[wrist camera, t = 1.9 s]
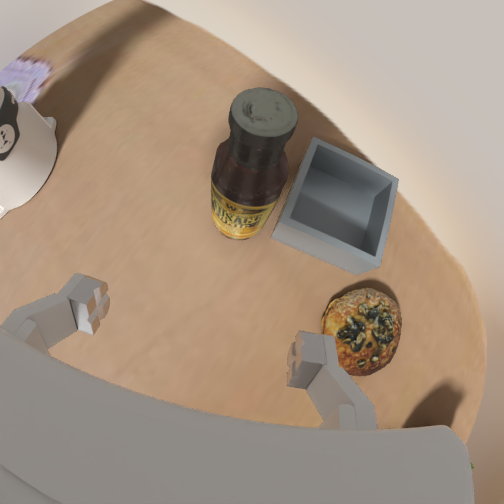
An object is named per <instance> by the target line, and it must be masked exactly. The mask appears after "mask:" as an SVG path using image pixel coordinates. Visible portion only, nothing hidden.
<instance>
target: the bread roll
mask: <svg viewBox="0 0 504 504" xmlns="http://www.w3.org/2000/svg"><path fill="white" fill-rule="evenodd" d="M321 324H322V334H324V335H330V336H334V338H335V343H336V349H337V356H338V362H339V367H343V369H344V370H345V371H346V372H347V373H348V374H349V375H353V376H367V375H371V374H373V373H375V372H377V371H378V370H380V369H382V368H383V367H385V366H386V365H387V364H388V363H390V361H391V360H392V358H393V356H394V354H395V353H396V349H397V347H398V343H399V340H400V335H401V326H402V318H401V313H400V310H399V307H398V305H397V303H396V302H395V301H393V300H392V299H391V298H389V297H388V296H387V295H385V294H384V293H382V292H379V291H378V290H374V289H372V288H362V289H359V290H353V291H352V292H348V293H347V294H345V295H343V296H342V297H341V298H338V299H334V300H333V301H332V302H331V303H330V304H329V306H328V309H327V310H326V314H325V315H324V316H323V318H322V321H321Z"/></svg>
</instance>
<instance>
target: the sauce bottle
mask: <svg viewBox="0 0 504 504" xmlns="http://www.w3.org/2000/svg"><path fill="white" fill-rule="evenodd" d="M297 121H298V112H297V110H296V107H295V105H294V104H293V102H292V101H291V100H290V99H289V98H288V97H287V96H285V95H284V94H282V93H280V92H278V91H275V90H272V89H270V88H254V89H248V90H245V91H243V92H241V93H240V94H238V95H237V97H236V98H235V99H234V100H233V103H232V104H231V108H230V112H229V125H230V129H231V132H230V137H229V139H227V140H226V141H224V142H223V143H221V144H220V145H219V146H218V148H217V152H216V156H215V161H214V165H213V169H212V173H211V201H212V219H213V221H214V224H215V226H216V227H217V229H218V230H219V231H220V232H221V234H223V235H224V236H226V237H227V238H230V239H235V240H246V239H248V238H250V237H252V236H254V235H256V234H257V233H258V232H259V231H260V230H261V229H262V227H263V226H264V224H265V222H266V220H267V218H268V217H269V215H270V213H271V211H272V209H273V207H274V205H275V204H276V202H277V200H278V198H279V196H280V194H281V191H282V188H283V186H284V184H285V182H286V181H287V175H288V162H287V157H286V154H285V152H284V150H283V149H284V146H285V143H286V142H287V141H288V140H289V139H290V138H291V136H292V135H293V132H294V130H295V127H296V124H297Z"/></svg>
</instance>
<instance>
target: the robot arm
mask: <svg viewBox="0 0 504 504" xmlns="http://www.w3.org/2000/svg"><path fill="white" fill-rule="evenodd" d="M55 129H56V120H55V119H54V118H53V117H42V116H41V115H40V114H39V113H38V112H37V111H36V109H35V108H34V107H33V106H32V105H31V104H30V103H29V102H27V101H26V102H19V103H17V101H16V100H15V98H14V96H13V95H12V93H11V92H10V91H8V90H7V89H6V88H5V87H3V86H0V219H1V218H2V217H3V216H4V215H5V214H6V213H7V212H8V211H9V210H11V209H14V208H16V207H19V206H21V205H23V204H24V203H26V202H27V201H28V200H30V199H31V198H32V197H33V196H34V195H35V194H36V193H37V192H38V191H39V189H40V188H41V187H42V185H43V184H44V183H45V181H46V179H47V178H48V176H49V174H50V172H51V170H52V168H53V165H54V162H55V159H56V154H57V141H56V138H55ZM107 291H108V285H107V283H106V282H104V281H101V280H98V279H95V278H92V277H90V276H86V275H83V274H81V273H76V274H74V275H73V277H72V278H71V279H70V280H69V281H68V282H67V283H66V285H65V286H64V287H63V288H62V289H61V290H60V292H59V293H58V294H55V293H54V294H52V295H49V296H47V297H44V298H42V299H39V300H37V301H34V302H32V303H30V304H27V305H25V306H22V307H20V308H17V309H15V310H14V311H13V312H12V313H11V314H10V315H9V317H8V318H7V319H6V320H5V322H4V323H3V324H2V325H1V327H0V504H474V487H473V478H472V470H471V464H470V459H469V454H468V450H467V447H466V445H465V444H464V442H463V441H462V440H461V439H460V438H459V437H458V436H457V435H456V434H455V432H454V431H453V430H451V429H450V428H449V427H448V426H446V425H436V426H426V427H416V428H402V429H378V427H377V421H376V414H375V408H374V405H373V403H372V402H371V401H370V400H369V399H368V397H367V396H366V395H365V394H364V393H363V391H362V390H361V389H360V388H359V387H358V385H357V384H356V383H355V382H354V381H353V379H352V378H351V377H350V376H349V375H348V373H347V372H346V371H345V370H344V369H343V367H339V362H338V356H337V349H336V343H335V338H334V336H330V335H324V334H317V333H311V332H306V331H300V330H299V331H298V332H297V334H296V336H295V342H294V343H292V344H291V346H290V349H289V352H288V358H287V365H288V366H289V370H288V372H287V386H290V387H295V388H302V389H306V391H307V393H308V395H309V396H310V398H311V400H312V401H313V403H314V405H315V407H316V408H317V410H318V412H319V413H320V415H321V417H322V419H323V420H324V422H323V423H322V424H321V425H320V426H319V427H318V428H310V427H299V426H289V425H280V424H273V423H265V422H259V421H252V420H246V419H241V418H235V417H230V416H225V415H220V414H215V413H211V412H206V411H202V410H198V409H194V408H190V407H186V406H182V405H178V404H175V403H171V402H168V401H164V400H161V399H157V398H154V397H151V396H148V395H145V394H142V393H139V392H136V391H133V390H130V389H127V388H124V387H121V386H119V385H116V384H113V383H111V382H108V381H106V380H103V379H100V378H98V377H96V376H93V375H91V374H88V373H86V372H84V371H81V370H79V369H77V368H75V367H73V366H70V365H68V364H66V363H64V362H62V361H60V360H58V359H56V358H54V357H52V356H50V354H49V351H48V349H49V348H50V347H52V346H53V345H55V344H57V343H58V342H60V341H61V340H63V339H65V338H66V337H68V336H70V335H71V334H73V333H74V332H76V331H77V329H78V330H80V331H83V332H86V333H88V334H91V335H94V334H95V332H96V331H97V329H98V327H99V326H100V321H99V320H101V319H103V318H105V316H106V314H107V313H108V310H109V306H110V299H109V296H108V295H107V294H106V292H107Z"/></svg>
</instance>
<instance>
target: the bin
mask: <svg viewBox="0 0 504 504" xmlns="http://www.w3.org/2000/svg"><path fill="white" fill-rule="evenodd" d="M398 181H399V179H398V178H396V177H394V176H392V175H391V174H388V173H387V172H385V171H383V170H381V169H380V168H378V167H376V166H374V165H372V164H370V163H368V162H366V161H364V160H362V159H360V158H358V157H356V156H354V155H352V154H350V153H348V152H346V151H344V150H342V149H340V148H338V147H336V146H333V145H331V144H329V143H327V142H325V141H322V140H320V139H318V138H316V137H313V138H312V140H311V142H310V145H309V147H308V149H307V151H306V153H305V155H304V157H303V159H302V162H301V164H300V167H299V169H298V171H297V174H296V176H295V179H294V181H293V184H292V186H291V189H290V191H289V194H288V196H287V199H286V201H285V204H284V206H283V208H282V211H281V213H280V216H279V218H278V221H277V223H276V226H275V228H274V230H273V233H272V235H271V239H274V240H276V241H278V242H281V243H283V244H286V245H288V246H290V247H293V248H295V249H297V250H299V251H302V252H304V253H306V254H309V255H311V256H313V257H316V258H318V259H320V260H323V261H325V262H327V263H329V264H332V265H334V266H336V267H339V268H341V269H343V270H345V271H348V272H350V273H352V274H354V275H359V274H362V273H364V272H367V271H370V270H372V269H375V268H378V267H380V263H381V260H382V256H383V252H384V248H385V244H386V240H387V235H388V231H389V227H390V222H391V218H392V213H393V208H394V203H395V198H396V192H397V187H398Z"/></svg>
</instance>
